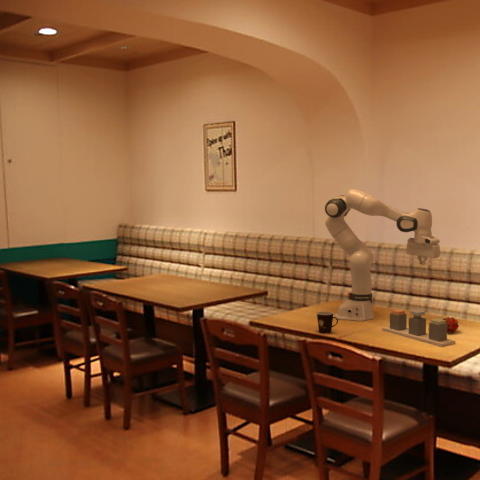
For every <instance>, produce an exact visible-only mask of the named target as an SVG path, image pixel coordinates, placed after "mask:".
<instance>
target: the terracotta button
mask: <svg viewBox="0 0 480 480" xmlns="http://www.w3.org/2000/svg"><path fill="white" fill-rule="evenodd" d="M390 312H391V314H395V315H402V314H406V310H403V309H399V308H397V309H391V311H390Z"/></svg>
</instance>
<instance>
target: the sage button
mask: <svg viewBox="0 0 480 480" xmlns="http://www.w3.org/2000/svg"><path fill="white" fill-rule="evenodd" d="M442 319H443V318H433V319H430V323H432V324H436V325H442V324H446V320H442Z"/></svg>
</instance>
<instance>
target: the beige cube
mask: <svg viewBox="0 0 480 480" xmlns="http://www.w3.org/2000/svg"><path fill="white" fill-rule="evenodd" d="M409 314H410V315H411V316H413V317H414V319H421V317H422V316H425V315H426V311H425V310H420V309H414V310H413V309H412V310H410V311H409Z"/></svg>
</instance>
